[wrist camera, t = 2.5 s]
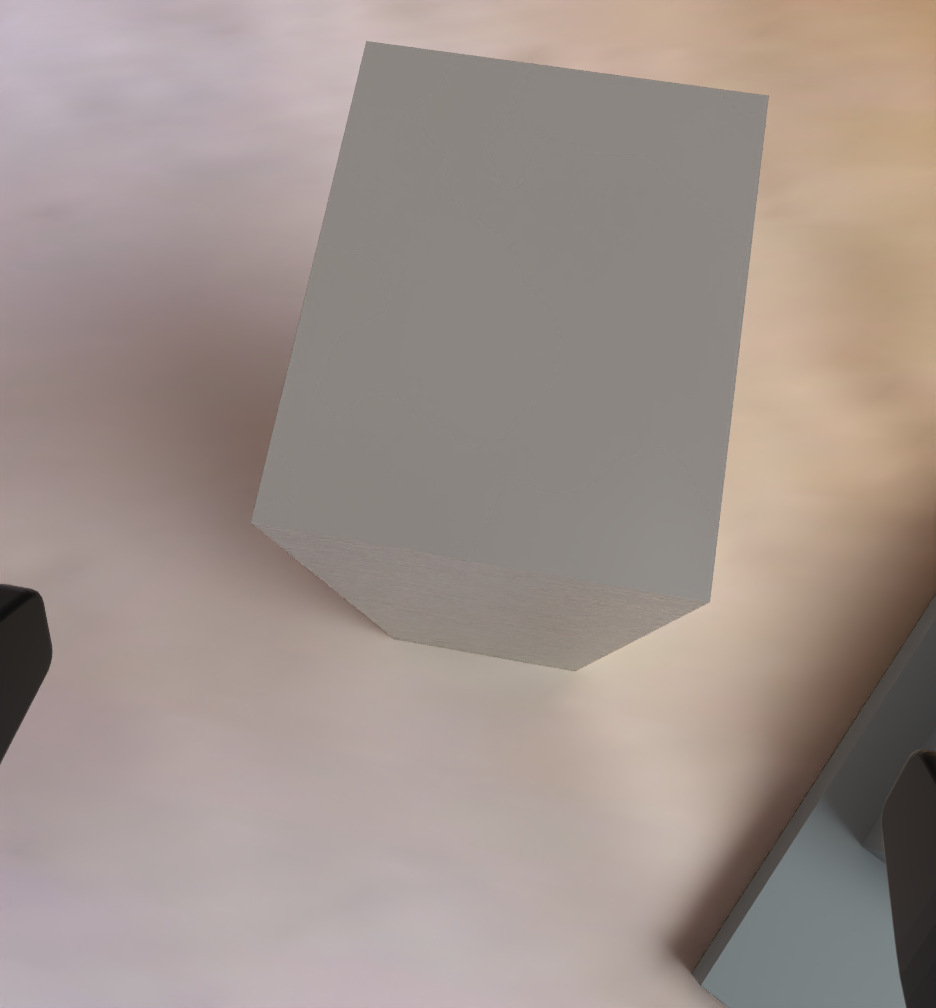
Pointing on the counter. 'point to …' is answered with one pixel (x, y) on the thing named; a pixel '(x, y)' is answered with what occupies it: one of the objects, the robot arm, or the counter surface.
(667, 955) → the counter surface
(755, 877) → the stepped grey baseplate
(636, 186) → the steel block
